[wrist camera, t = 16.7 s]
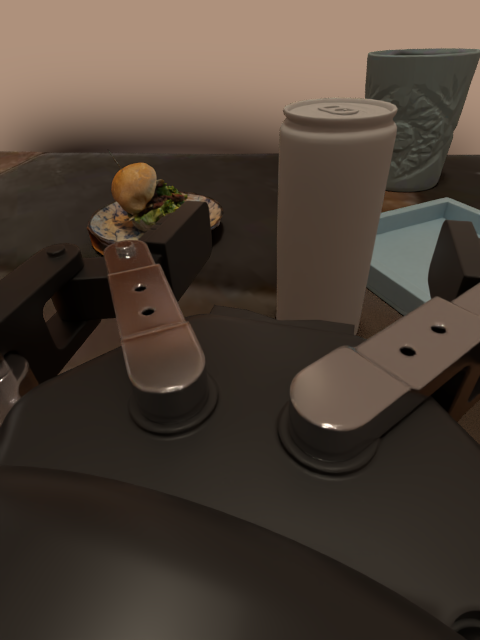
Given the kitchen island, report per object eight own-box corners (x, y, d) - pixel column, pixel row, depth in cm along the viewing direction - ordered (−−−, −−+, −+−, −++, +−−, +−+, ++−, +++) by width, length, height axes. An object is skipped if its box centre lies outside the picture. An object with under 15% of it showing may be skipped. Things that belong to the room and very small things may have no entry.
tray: (315, 248, 32) (317, 228, 30) (441, 216, 36) (447, 196, 34) (478, 372, 20) (491, 347, 19) (636, 304, 24) (654, 280, 23)
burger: (226, 260, 30) (220, 161, 26) (75, 270, 30) (42, 171, 26) (221, 203, 40) (216, 124, 35) (107, 210, 40) (86, 131, 35)
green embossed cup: (381, 199, 39) (408, 56, 32) (335, 170, 47) (348, 50, 40) (465, 186, 41) (509, 49, 34) (408, 161, 49) (433, 45, 42)
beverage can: (303, 370, 21) (325, 124, 13) (260, 321, 24) (259, 105, 17) (373, 342, 22) (428, 108, 15) (324, 300, 26) (349, 93, 18)
